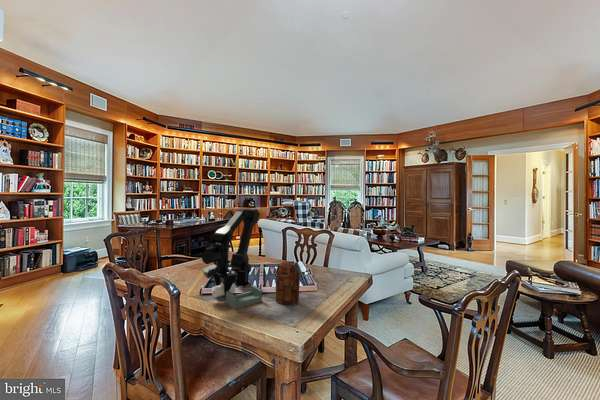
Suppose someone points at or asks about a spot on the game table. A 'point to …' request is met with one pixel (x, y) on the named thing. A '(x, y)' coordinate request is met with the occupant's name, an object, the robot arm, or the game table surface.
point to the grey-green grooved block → (244, 298)
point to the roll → (221, 290)
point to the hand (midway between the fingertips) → (221, 291)
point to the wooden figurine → (287, 283)
